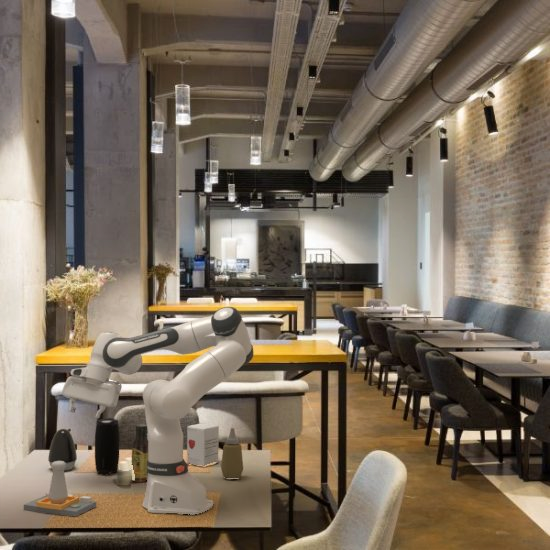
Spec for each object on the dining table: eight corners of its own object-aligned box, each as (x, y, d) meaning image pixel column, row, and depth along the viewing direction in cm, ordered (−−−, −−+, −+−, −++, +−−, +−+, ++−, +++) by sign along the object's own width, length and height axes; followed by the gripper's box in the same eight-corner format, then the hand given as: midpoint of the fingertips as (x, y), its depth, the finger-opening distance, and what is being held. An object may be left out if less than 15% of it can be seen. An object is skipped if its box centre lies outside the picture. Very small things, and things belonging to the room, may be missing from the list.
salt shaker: (61, 507, 233) (61, 464, 233) (44, 505, 234) (45, 463, 234) (71, 501, 238) (71, 460, 238) (54, 500, 240) (55, 458, 240)
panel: (96, 506, 239) (96, 497, 239) (75, 517, 229) (75, 507, 229) (46, 500, 246) (46, 490, 246) (23, 510, 235) (23, 500, 235)
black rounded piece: (81, 467, 289) (82, 427, 289) (67, 473, 279) (68, 432, 279) (57, 465, 292) (58, 425, 292) (43, 471, 281) (43, 430, 282)
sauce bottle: (127, 480, 271) (128, 424, 271) (143, 477, 275) (143, 422, 275) (137, 484, 266) (137, 427, 266) (152, 481, 270) (153, 425, 270)
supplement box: (186, 464, 294) (186, 425, 294) (201, 460, 301) (201, 422, 301) (203, 468, 289) (204, 428, 289) (219, 463, 296) (219, 425, 296)
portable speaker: (104, 468, 287) (105, 416, 287) (124, 471, 282) (124, 419, 283) (89, 473, 279) (89, 420, 279) (108, 477, 275) (109, 422, 275)
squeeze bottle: (216, 478, 275) (216, 428, 275) (233, 474, 280) (234, 425, 280) (230, 482, 269) (230, 431, 269) (247, 478, 274) (248, 428, 274)
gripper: (126, 384, 267) (114, 423, 262) (75, 373, 272) (62, 410, 268) (119, 380, 261) (107, 419, 257) (67, 368, 267) (54, 407, 262)
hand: (83, 414), depth 262 cm, fingers open, 8 cm apart
